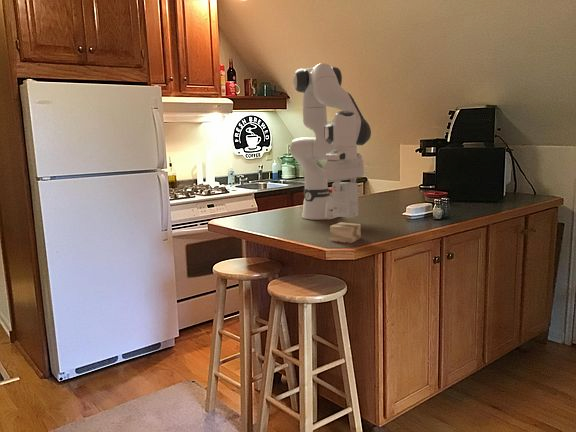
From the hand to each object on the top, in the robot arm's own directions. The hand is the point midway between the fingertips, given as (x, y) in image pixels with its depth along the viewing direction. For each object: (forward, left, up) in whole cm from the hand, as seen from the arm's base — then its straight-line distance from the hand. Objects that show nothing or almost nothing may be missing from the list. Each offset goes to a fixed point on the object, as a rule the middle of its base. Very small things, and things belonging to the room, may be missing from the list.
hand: (345, 190), depth 203 cm
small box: (0, 0, -10) cm, 10 cm away
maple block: (0, 0, -20) cm, 20 cm away
